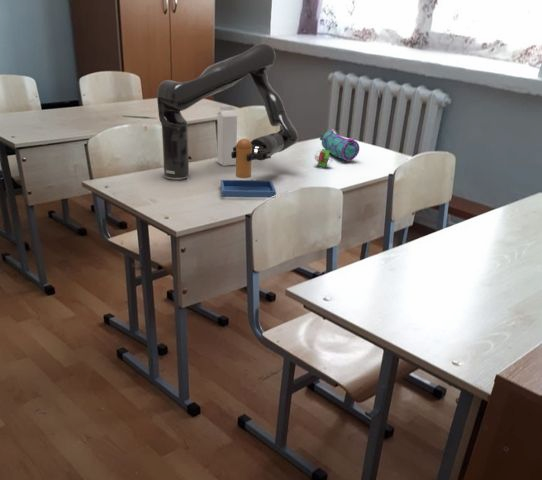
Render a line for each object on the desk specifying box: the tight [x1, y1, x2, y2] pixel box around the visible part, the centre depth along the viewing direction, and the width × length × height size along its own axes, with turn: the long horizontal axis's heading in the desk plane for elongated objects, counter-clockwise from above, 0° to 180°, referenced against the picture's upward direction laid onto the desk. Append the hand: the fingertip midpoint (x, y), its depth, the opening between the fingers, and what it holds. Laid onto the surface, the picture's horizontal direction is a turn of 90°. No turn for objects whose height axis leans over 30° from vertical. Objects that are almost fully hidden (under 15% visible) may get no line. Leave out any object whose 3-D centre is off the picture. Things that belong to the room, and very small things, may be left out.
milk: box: [216, 105, 238, 167], centre depth 237 cm, size 6×6×22 cm
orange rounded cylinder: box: [235, 138, 253, 179], centre depth 206 cm, size 5×5×13 cm
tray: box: [220, 179, 277, 198], centre depth 212 cm, size 13×19×3 cm
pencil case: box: [319, 129, 360, 162], centre depth 259 cm, size 21×9×10 cm, turn 24°
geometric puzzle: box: [314, 148, 333, 168], centre depth 245 cm, size 7×7×8 cm
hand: (240, 156), depth 204 cm, fingers closed on orange rounded cylinder, 5 cm apart
